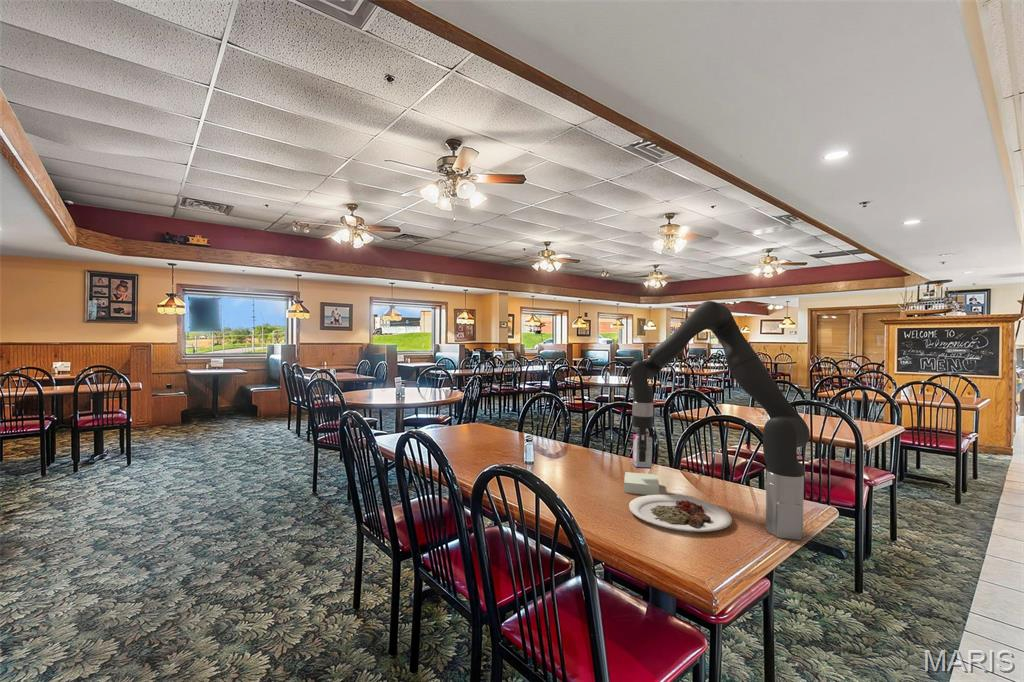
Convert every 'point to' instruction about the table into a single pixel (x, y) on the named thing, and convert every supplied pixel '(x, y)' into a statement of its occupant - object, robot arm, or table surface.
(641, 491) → the sage block
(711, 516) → the plated food
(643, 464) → the supplement box
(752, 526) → the table surface
